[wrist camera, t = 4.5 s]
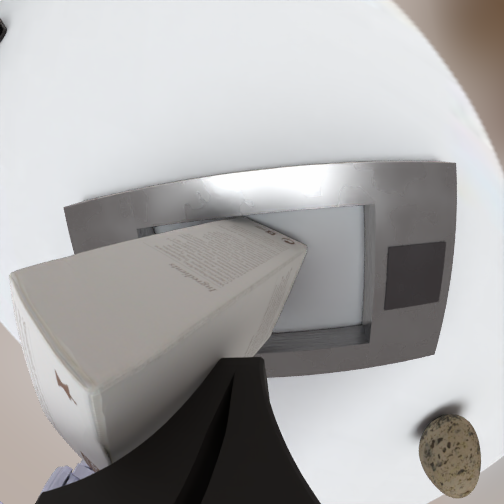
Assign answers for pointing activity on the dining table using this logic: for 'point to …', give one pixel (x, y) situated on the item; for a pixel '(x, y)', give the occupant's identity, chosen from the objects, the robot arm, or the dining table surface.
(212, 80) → the dining table surface
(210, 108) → the dining table surface
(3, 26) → the end cap
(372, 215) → the plate
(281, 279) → the skincare box
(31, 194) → the dining table surface
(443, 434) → the decorative egg
